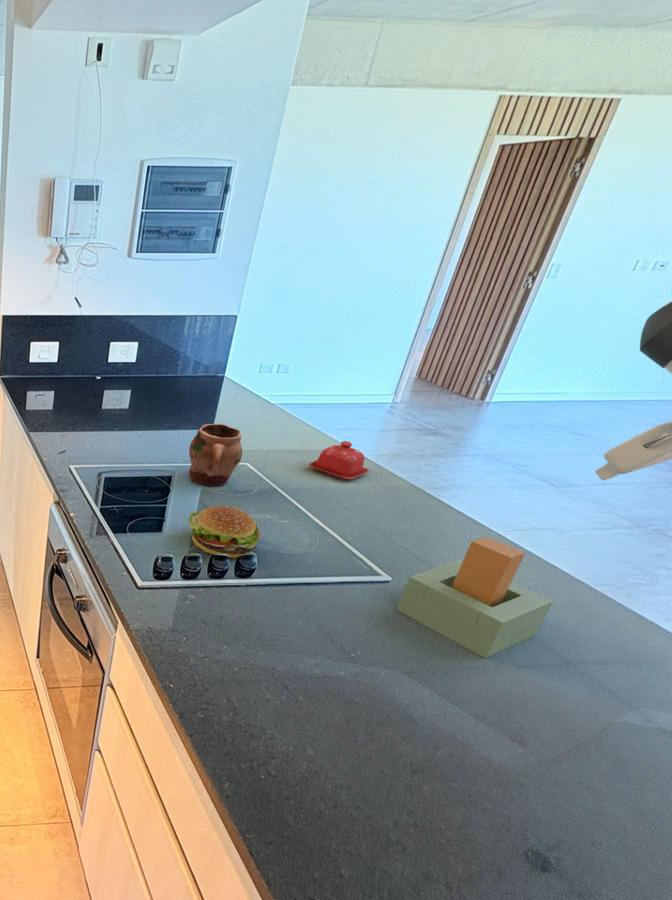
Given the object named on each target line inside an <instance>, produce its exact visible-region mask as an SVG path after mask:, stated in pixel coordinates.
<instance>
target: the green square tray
mask: <svg viewBox="0 0 672 900" xmlns="http://www.w3.org/2000/svg"><path fill="white" fill-rule="evenodd" d="M463 560H464V559H460V558H458V559H456V560H453V561H450V562H447V563H444V564H442V565H439V566H436V567H433V568H429V569H427V570H425V571H422V572H419V573H416V574H413V575H410V576H409V577H408V579H407V582H406V584H405V587H404V589H403V592H402V595H401V597H400V599H399V602H398V604H397V607H396V611H397V612H399V613H401V614H403V615H404V616H406V617H409V618H411V619H412V620H413V621H416V622H418V623H419V624H421V625H423V626H425V627H426V628H428V629H430V630H432V631H434V632H435V633H437V634H439V635H441V636H443V637H445V638H446V639H448V640H450V641H452V642H454V643H456V644H458V645H460V646H461V647H463V648H465V649H466V650H469V651H470V652H472V653H474V654H475V655H478V656H479V657H481V658H483V659H487V658H489V657H491V656H493V655H495V654H498V653H501V652H502V651H504V650H507V649H509V648H511V647H513V646H515V645H517V644H519V643H522V642H524V641H526V640H528V639H531V638H533V637H535V636H536V635H537V633H538V632H539V629H540V627H541V625H542V624H543V622H544V620H545V618H546V616H547V614H548V613H549V611H550V608H551V607H552V605H553V603H554V600H553V599H551V598H549V597H546V596H544V595H542V594H540V593H537V592H534V591H533V590H530V589H528V588H526V587H524V586H521V585H519V584H518V583H517V584H516V583H515V582H511V584H510V586H509V588H508V590H507V592H506V594H505V596H504V598H503V600H502V602H501V604H500V605H497V606H495V607H490V606H488V605H486V604H484V603H482V602H480V601H478V600H476V599H474V598H472V597H470V596H468V595H466V594H463V593H461V592H459V591H457V590H455V589H453V588H451V587H452V585H453V583H454V580H455V578H456V576H457V573H458V571H459V569H460V567H461V564H462V562H463Z"/></svg>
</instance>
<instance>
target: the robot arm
mask: <svg viewBox="0 0 672 900" xmlns="http://www.w3.org/2000/svg"><path fill="white" fill-rule="evenodd" d="M639 351H640V352H641V353H642V354H644V355H645V356H646V357H647V358H649V359H650V360H651V361H652V362H654V364H657V366H659V367H661V369H665V370H666V371H667V372H668V373H669V374H671V375H672V301H670V302H668V303H666V304H665V305H663V306H662V307H660V308H658V309H657V310H656V311H654V312H653V313H652V314H650V315H649V316H648V317H647V319H646V320H645V323H644V325H643V328H642V331H641V335H640V341H639ZM603 458H604V459H605V461H606V463H605V464H604V465H602V466H600V467H598V468H597V469H595V472H594V473H595V474H596V475H597V476H598V478H599V479H600V480H601V481H607V480H610V479H613V478H615V477H617V476H619V475H626V474H630V473H633V472H636V471H639V470H643V469H645V468H648V467H649V468H650V467H653V466H655V465H659V464H661V463H665V462H668V461H672V420H669V421H666V422H664V423H660V424H658V425H656V426H654V427H652V428H649V429H647V430H645V431H642V432H641V433H639V434H637V435H635V436H633V437H632V438H629V439H628V440H627V439H626V440H625V441H623V442H621V443H620V444H618V445H616V446H614V447H612V448H609V450H607V451H606V452H605V453H604V454H603Z"/></svg>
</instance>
